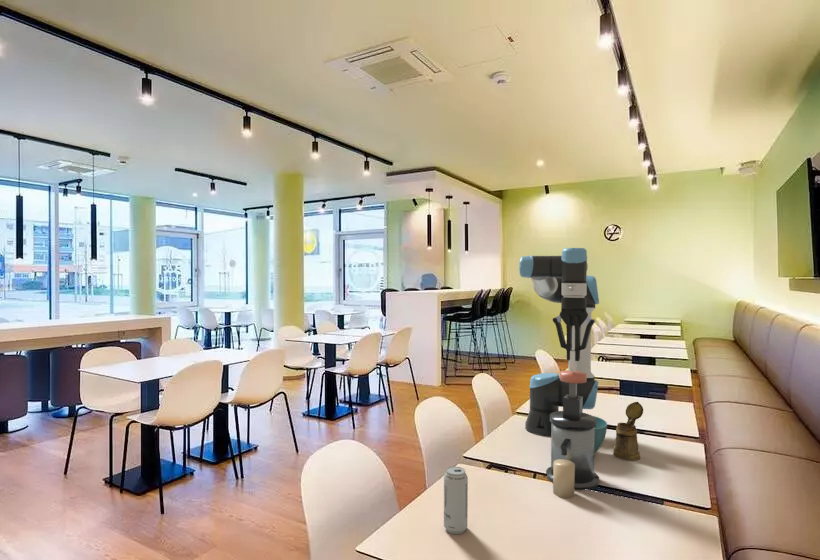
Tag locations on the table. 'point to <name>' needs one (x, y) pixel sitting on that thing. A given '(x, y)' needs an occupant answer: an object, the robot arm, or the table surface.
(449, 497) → the energy drink can
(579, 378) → the pump head
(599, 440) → the teal bowl
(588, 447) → the airpot
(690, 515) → the table surface
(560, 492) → the beige rounded cylinder
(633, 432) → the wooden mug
